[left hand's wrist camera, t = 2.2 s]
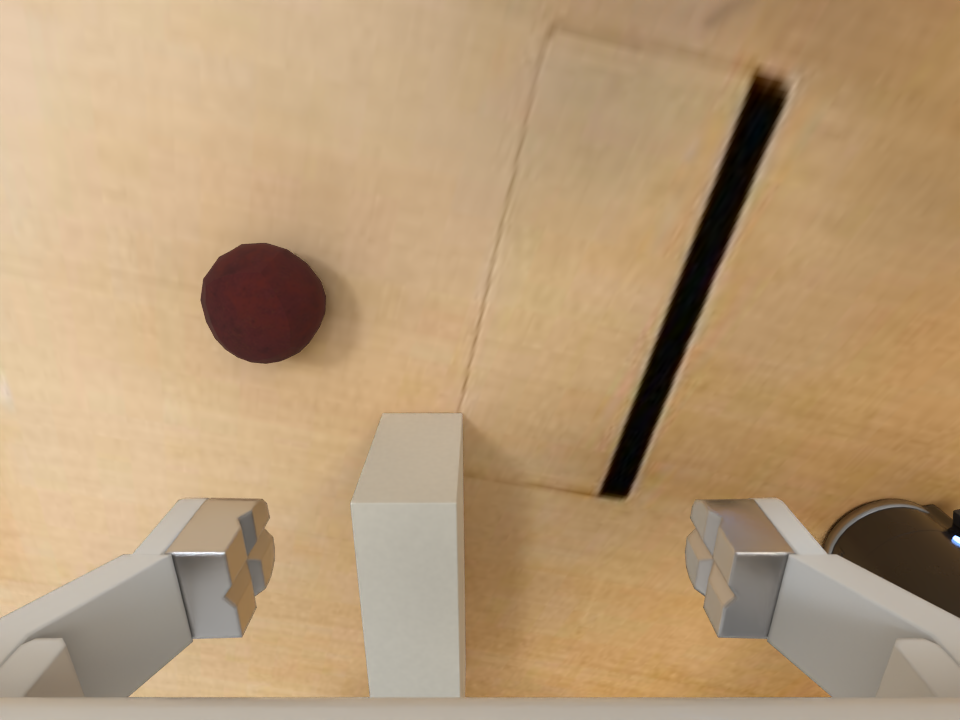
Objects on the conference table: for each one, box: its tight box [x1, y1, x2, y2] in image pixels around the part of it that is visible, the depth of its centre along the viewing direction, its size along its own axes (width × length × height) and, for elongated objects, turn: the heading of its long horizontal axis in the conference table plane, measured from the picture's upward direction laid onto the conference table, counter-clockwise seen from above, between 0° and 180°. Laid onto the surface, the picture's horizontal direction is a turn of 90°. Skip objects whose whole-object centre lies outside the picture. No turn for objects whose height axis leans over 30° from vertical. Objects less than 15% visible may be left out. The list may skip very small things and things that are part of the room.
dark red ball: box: [201, 243, 326, 364], centre depth 36 cm, size 7×8×7 cm
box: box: [350, 413, 466, 697], centre depth 43 cm, size 27×6×12 cm, turn 0°
